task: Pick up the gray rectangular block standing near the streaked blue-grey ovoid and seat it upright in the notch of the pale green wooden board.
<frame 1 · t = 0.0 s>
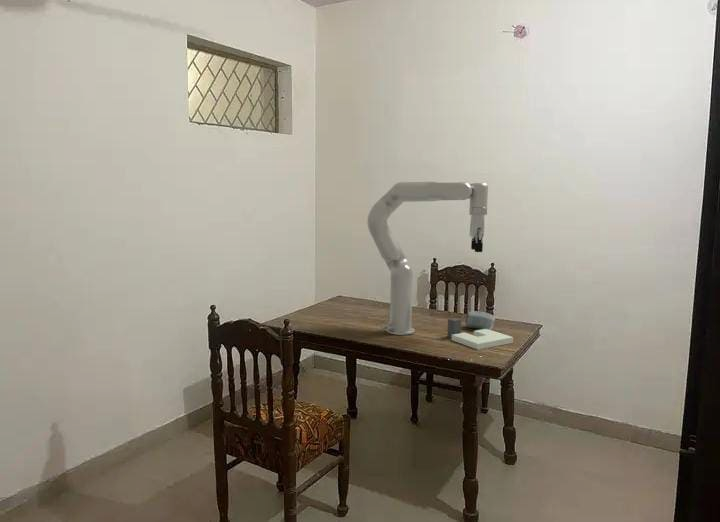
hand: (476, 250, 243), 37 cm above the table, fingers open, 9 cm apart
gray rectangular block: (454, 337, 241), on the table
board: (482, 341, 235), on the table
streaked blue-grey ovoid: (479, 329, 256), on the table
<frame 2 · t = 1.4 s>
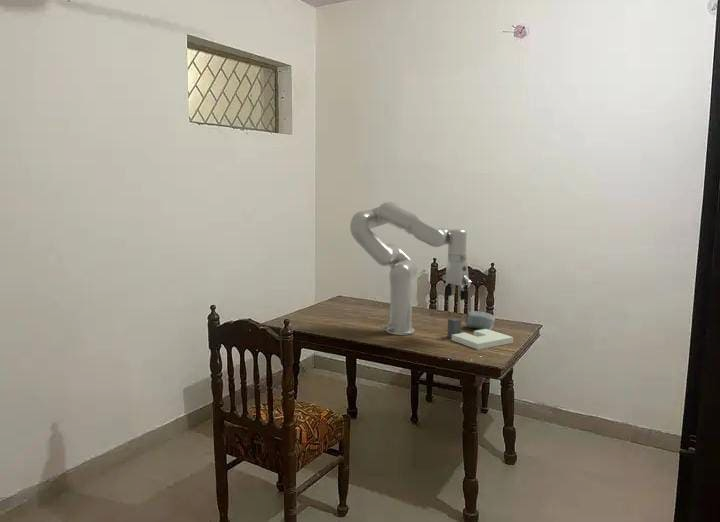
hand: (455, 297, 239), 18 cm above the table, fingers open, 9 cm apart
nothing on the table moved.
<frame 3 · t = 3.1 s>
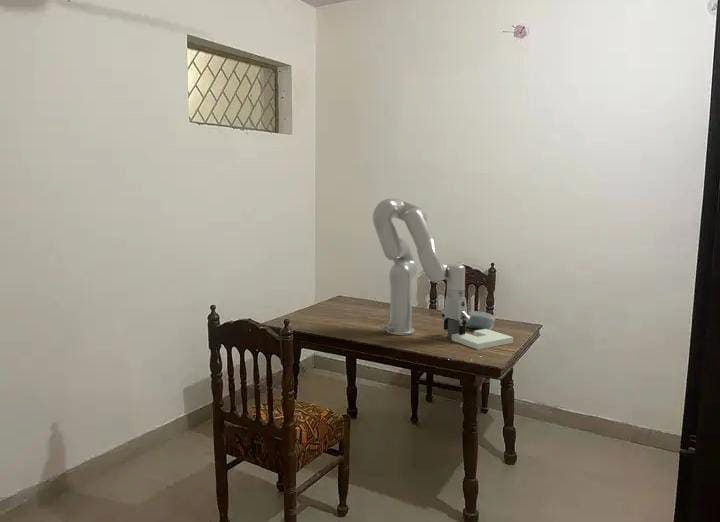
hand: (454, 331, 241), 2 cm above the table, fingers open, 9 cm apart
nothing on the table moved.
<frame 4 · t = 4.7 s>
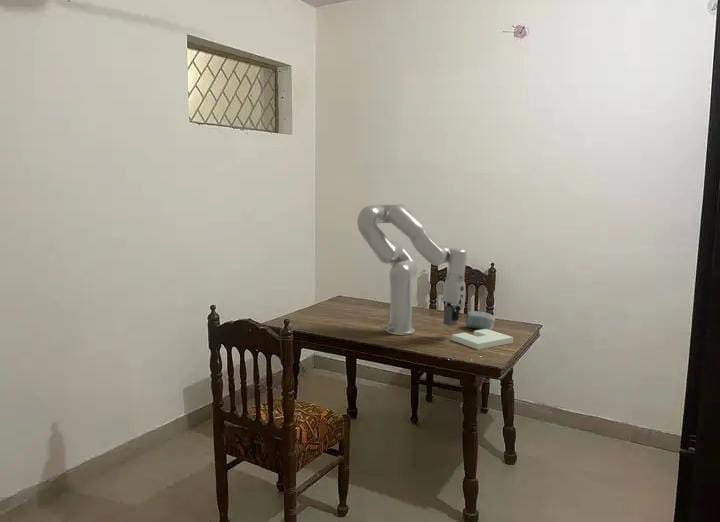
hand: (451, 318, 240), 8 cm above the table, fingers closed on gray rectangular block, 4 cm apart
gray rectangular block: (449, 324, 241), point 6 cm above the table, touching gripper
everything else where it was.
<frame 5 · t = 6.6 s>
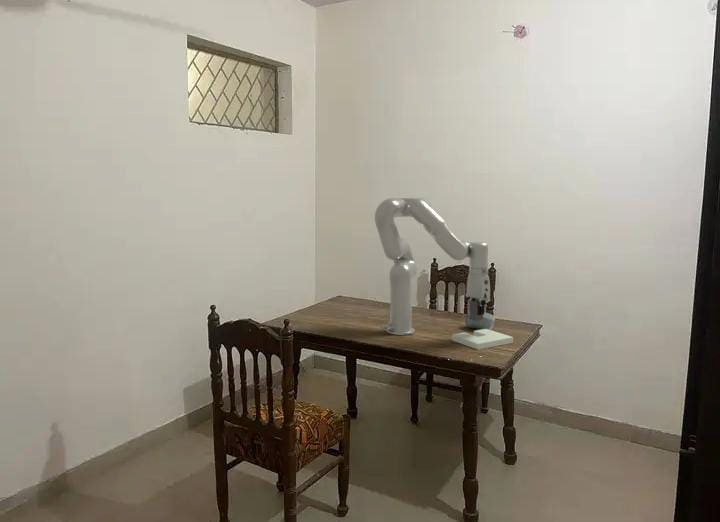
hand: (477, 313, 237), 11 cm above the table, fingers closed on gray rectangular block, 4 cm apart
gray rectangular block: (476, 319, 237), point 9 cm above the table, touching gripper
everything else where it was.
when the fingers open (3 cm above the table, at t = 8.7 s): gray rectangular block stays where it is, on the table.
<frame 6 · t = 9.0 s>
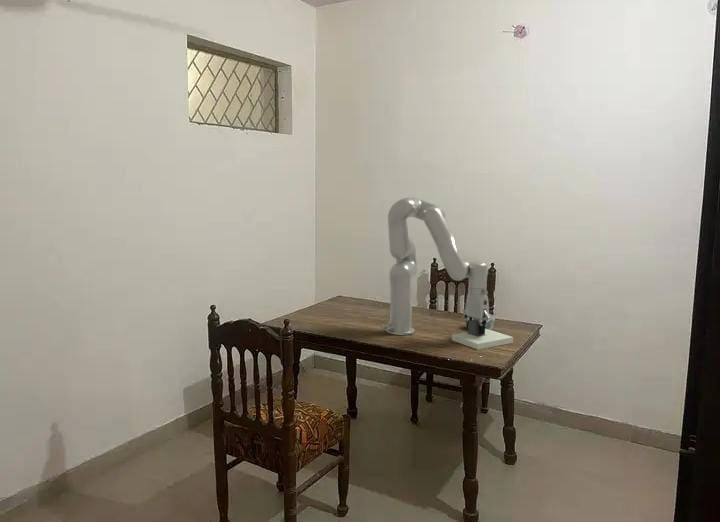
hand: (475, 332, 238), 3 cm above the table, fingers open, 6 cm apart
gray rectangular block: (474, 339, 238), on the table
everything else where it was.
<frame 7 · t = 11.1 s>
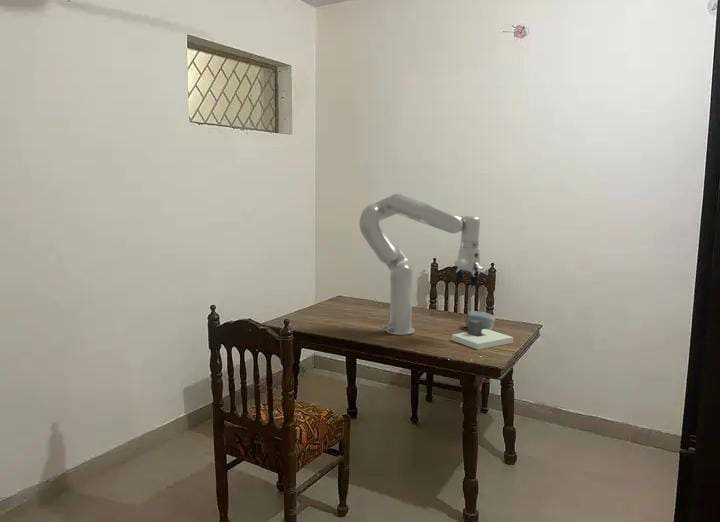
hand: (466, 283, 243), 23 cm above the table, fingers open, 9 cm apart
nothing on the table moved.
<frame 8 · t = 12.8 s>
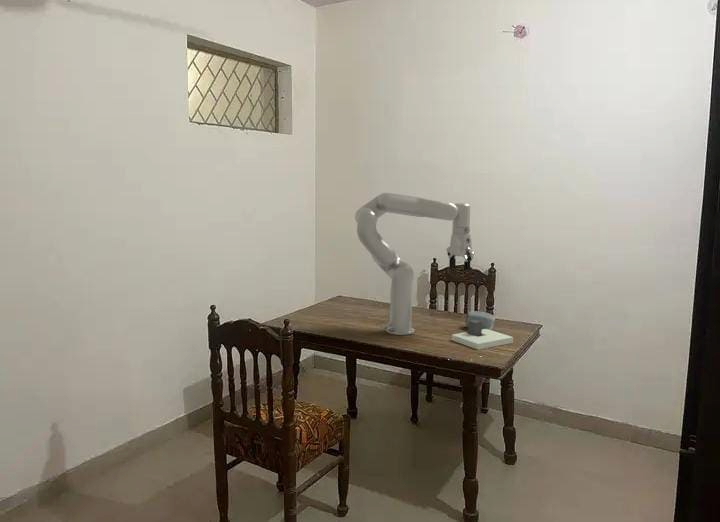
hand: (459, 268, 250), 28 cm above the table, fingers open, 9 cm apart
nothing on the table moved.
at the end: gray rectangular block inside the target area on the board (0.6 cm from its centre), point 0.0 cm above the board's base; gray rectangular block tilted 0°; the gripper is holding nothing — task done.
